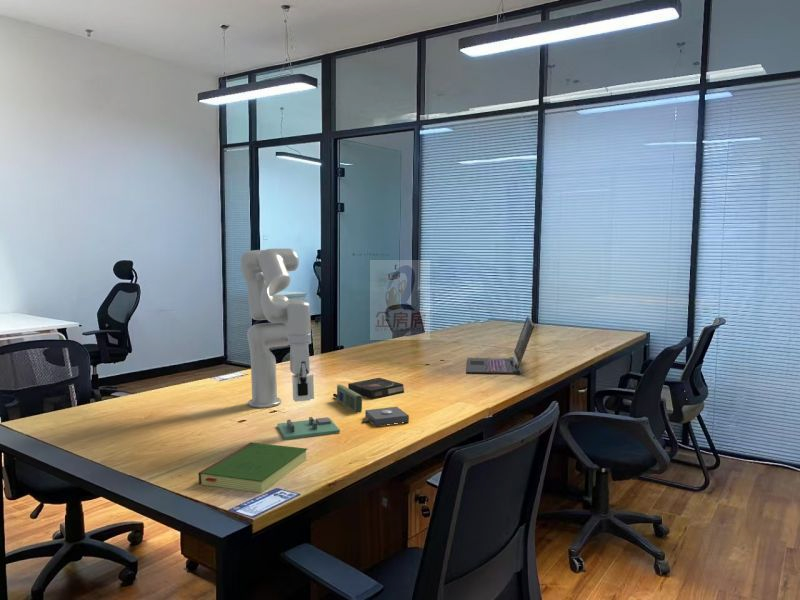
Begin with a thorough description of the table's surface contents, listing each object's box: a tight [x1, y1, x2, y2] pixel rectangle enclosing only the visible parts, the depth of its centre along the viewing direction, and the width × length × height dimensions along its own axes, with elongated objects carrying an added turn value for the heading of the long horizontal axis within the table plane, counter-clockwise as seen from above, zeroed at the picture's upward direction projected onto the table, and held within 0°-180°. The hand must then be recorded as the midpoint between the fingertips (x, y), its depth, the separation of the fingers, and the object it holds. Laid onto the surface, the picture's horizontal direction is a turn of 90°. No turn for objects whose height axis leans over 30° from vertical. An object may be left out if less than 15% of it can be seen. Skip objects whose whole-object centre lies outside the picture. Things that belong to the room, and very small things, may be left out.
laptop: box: [466, 316, 535, 376], centre depth 292 cm, size 35×32×24 cm
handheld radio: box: [332, 383, 363, 414], centre depth 226 cm, size 7×3×25 cm
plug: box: [291, 374, 315, 403], centre depth 194 cm, size 4×6×8 cm, turn 111°
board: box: [277, 416, 341, 441], centre depth 196 cm, size 15×18×3 cm
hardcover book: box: [198, 442, 308, 494], centre depth 159 cm, size 25×19×4 cm
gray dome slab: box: [361, 406, 410, 427], centre depth 205 cm, size 12×15×3 cm
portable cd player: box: [347, 377, 405, 400], centre depth 245 cm, size 16×17×4 cm
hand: (301, 393), depth 193 cm, fingers closed on plug, 4 cm apart
